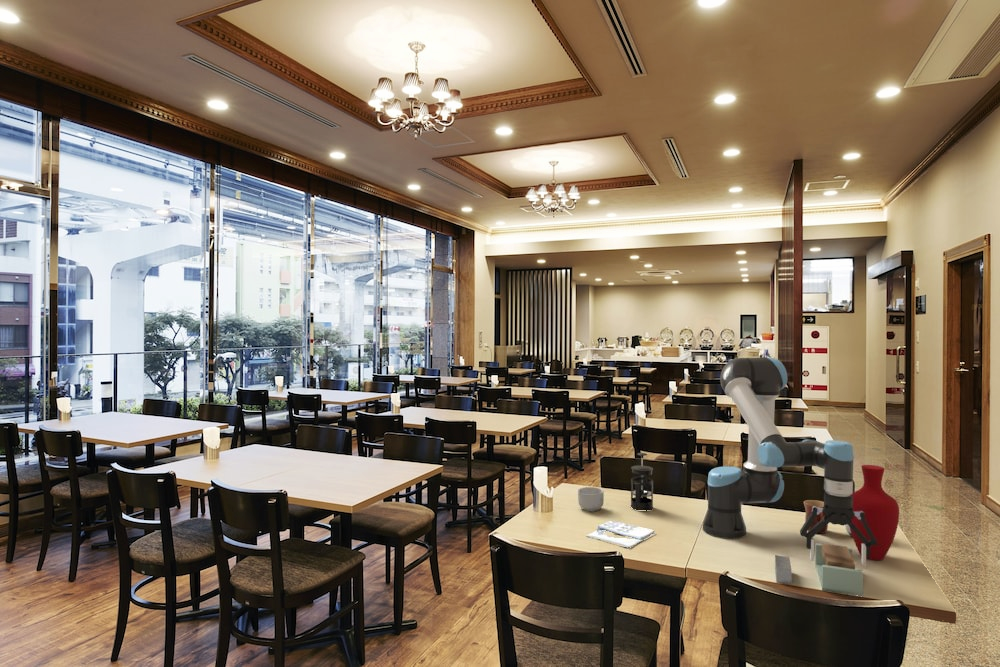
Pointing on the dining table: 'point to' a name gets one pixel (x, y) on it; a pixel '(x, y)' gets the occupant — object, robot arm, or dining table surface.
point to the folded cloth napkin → (622, 533)
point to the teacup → (590, 498)
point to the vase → (875, 513)
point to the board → (837, 556)
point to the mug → (808, 507)
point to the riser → (783, 569)
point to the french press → (640, 495)
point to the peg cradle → (838, 576)
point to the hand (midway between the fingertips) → (837, 563)
